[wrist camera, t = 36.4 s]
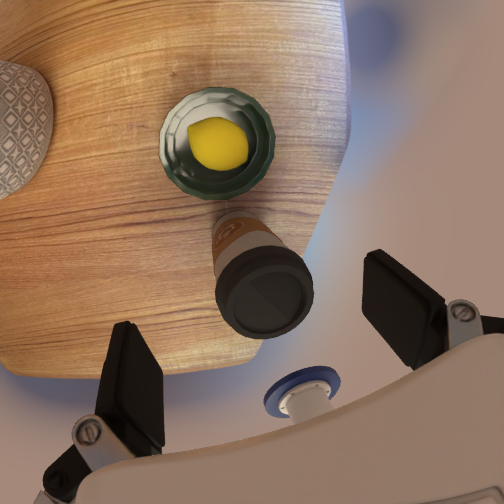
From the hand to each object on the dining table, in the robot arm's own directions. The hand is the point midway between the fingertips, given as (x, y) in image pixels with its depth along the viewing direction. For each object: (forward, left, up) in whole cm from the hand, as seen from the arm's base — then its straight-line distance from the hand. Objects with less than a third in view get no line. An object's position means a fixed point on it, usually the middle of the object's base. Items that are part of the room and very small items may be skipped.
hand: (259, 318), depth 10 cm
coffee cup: (-7, +2, -24) cm, 25 cm away
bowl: (+3, -4, -24) cm, 24 cm away
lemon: (+3, -4, -24) cm, 24 cm away
